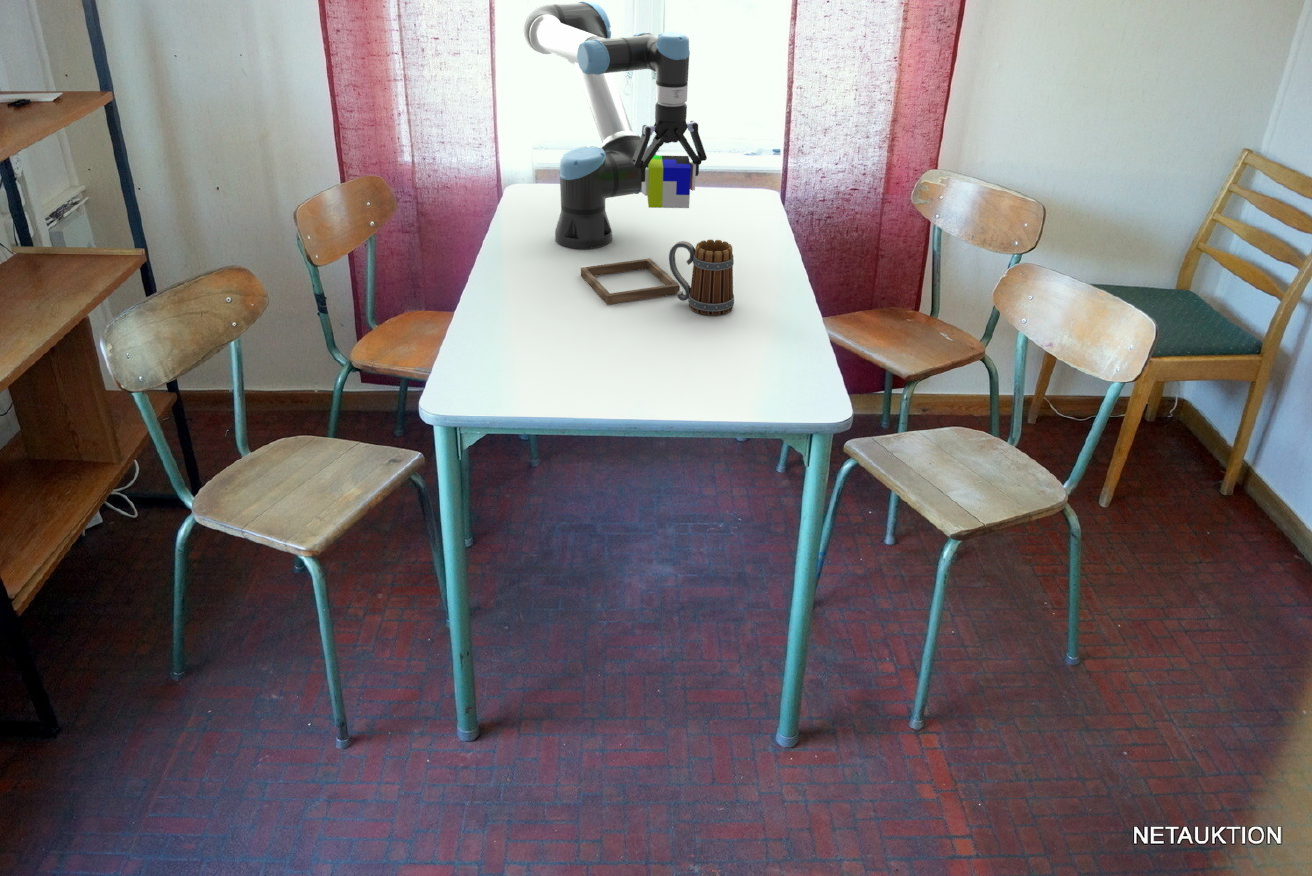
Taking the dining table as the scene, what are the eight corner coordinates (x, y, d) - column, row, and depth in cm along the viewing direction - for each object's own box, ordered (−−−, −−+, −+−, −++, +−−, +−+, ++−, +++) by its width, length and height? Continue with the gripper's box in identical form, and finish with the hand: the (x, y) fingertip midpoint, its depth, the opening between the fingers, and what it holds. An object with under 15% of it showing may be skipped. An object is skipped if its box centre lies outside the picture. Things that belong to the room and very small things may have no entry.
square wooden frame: (580, 276, 251) (580, 267, 250) (649, 266, 257) (649, 258, 256) (607, 305, 236) (607, 296, 235) (679, 294, 243) (679, 285, 242)
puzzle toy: (689, 208, 252) (690, 168, 247) (648, 207, 251) (649, 167, 246) (686, 195, 260) (688, 156, 255) (647, 194, 260) (648, 155, 255)
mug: (738, 302, 239) (743, 241, 232) (726, 319, 231) (730, 257, 223) (675, 292, 244) (677, 232, 236) (661, 309, 235) (662, 247, 227)
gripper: (629, 110, 236) (628, 201, 247) (723, 102, 244) (718, 191, 256) (618, 102, 242) (617, 191, 253) (710, 95, 250) (705, 182, 262)
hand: (668, 191), depth 254 cm, fingers closed on puzzle toy, 12 cm apart
